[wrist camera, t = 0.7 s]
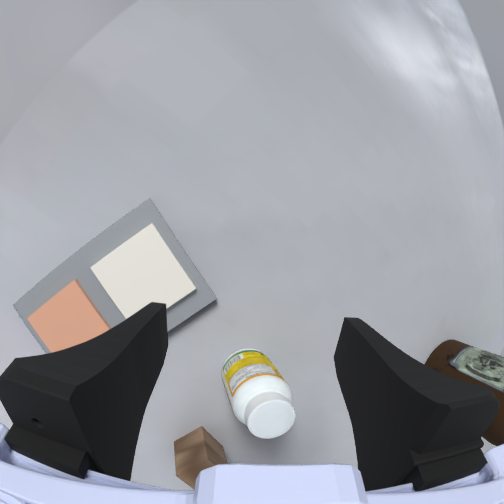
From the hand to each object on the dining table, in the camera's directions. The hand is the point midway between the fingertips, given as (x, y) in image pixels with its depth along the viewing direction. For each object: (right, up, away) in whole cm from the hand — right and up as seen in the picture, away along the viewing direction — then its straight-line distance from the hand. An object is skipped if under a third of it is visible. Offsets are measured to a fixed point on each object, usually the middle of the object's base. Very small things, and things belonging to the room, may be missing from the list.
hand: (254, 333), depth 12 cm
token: (-6, -19, +19) cm, 27 cm away
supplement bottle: (-1, -9, +20) cm, 22 cm away
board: (-14, -1, +16) cm, 21 cm away
